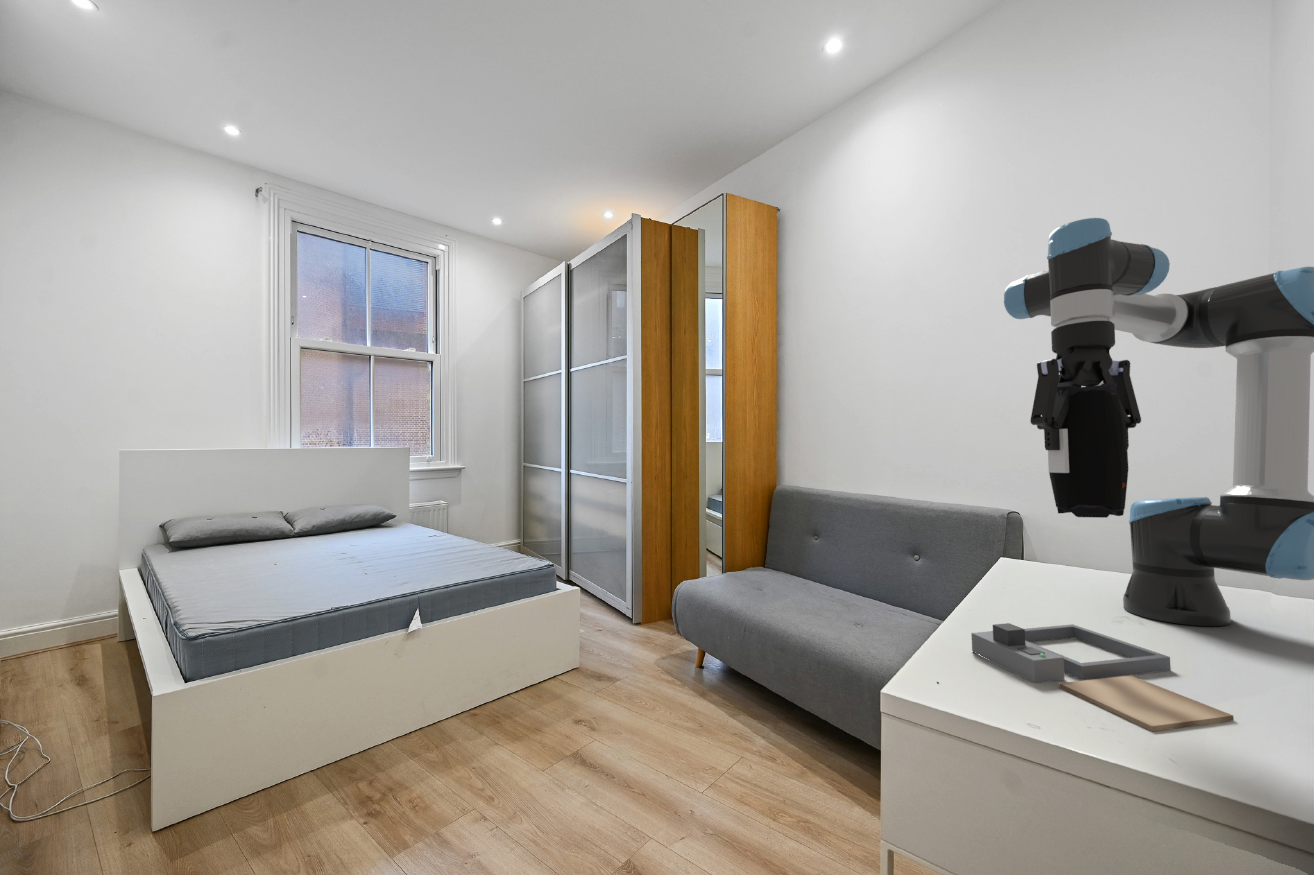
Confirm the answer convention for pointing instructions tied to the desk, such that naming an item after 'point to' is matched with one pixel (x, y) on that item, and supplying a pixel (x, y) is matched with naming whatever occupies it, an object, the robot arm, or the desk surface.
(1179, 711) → the cork mat
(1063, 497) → the portable speaker
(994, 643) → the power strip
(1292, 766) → the desk surface
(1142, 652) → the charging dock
